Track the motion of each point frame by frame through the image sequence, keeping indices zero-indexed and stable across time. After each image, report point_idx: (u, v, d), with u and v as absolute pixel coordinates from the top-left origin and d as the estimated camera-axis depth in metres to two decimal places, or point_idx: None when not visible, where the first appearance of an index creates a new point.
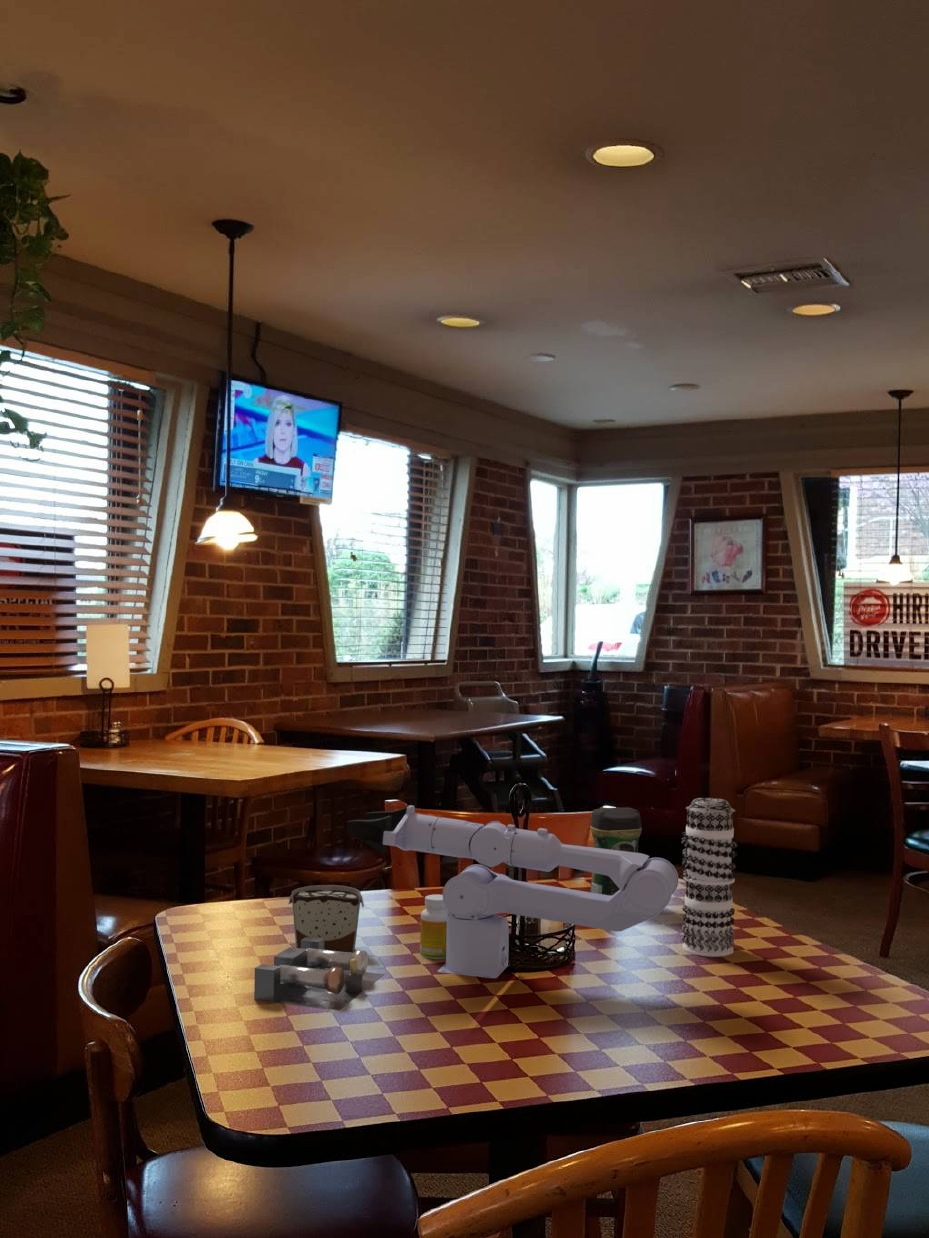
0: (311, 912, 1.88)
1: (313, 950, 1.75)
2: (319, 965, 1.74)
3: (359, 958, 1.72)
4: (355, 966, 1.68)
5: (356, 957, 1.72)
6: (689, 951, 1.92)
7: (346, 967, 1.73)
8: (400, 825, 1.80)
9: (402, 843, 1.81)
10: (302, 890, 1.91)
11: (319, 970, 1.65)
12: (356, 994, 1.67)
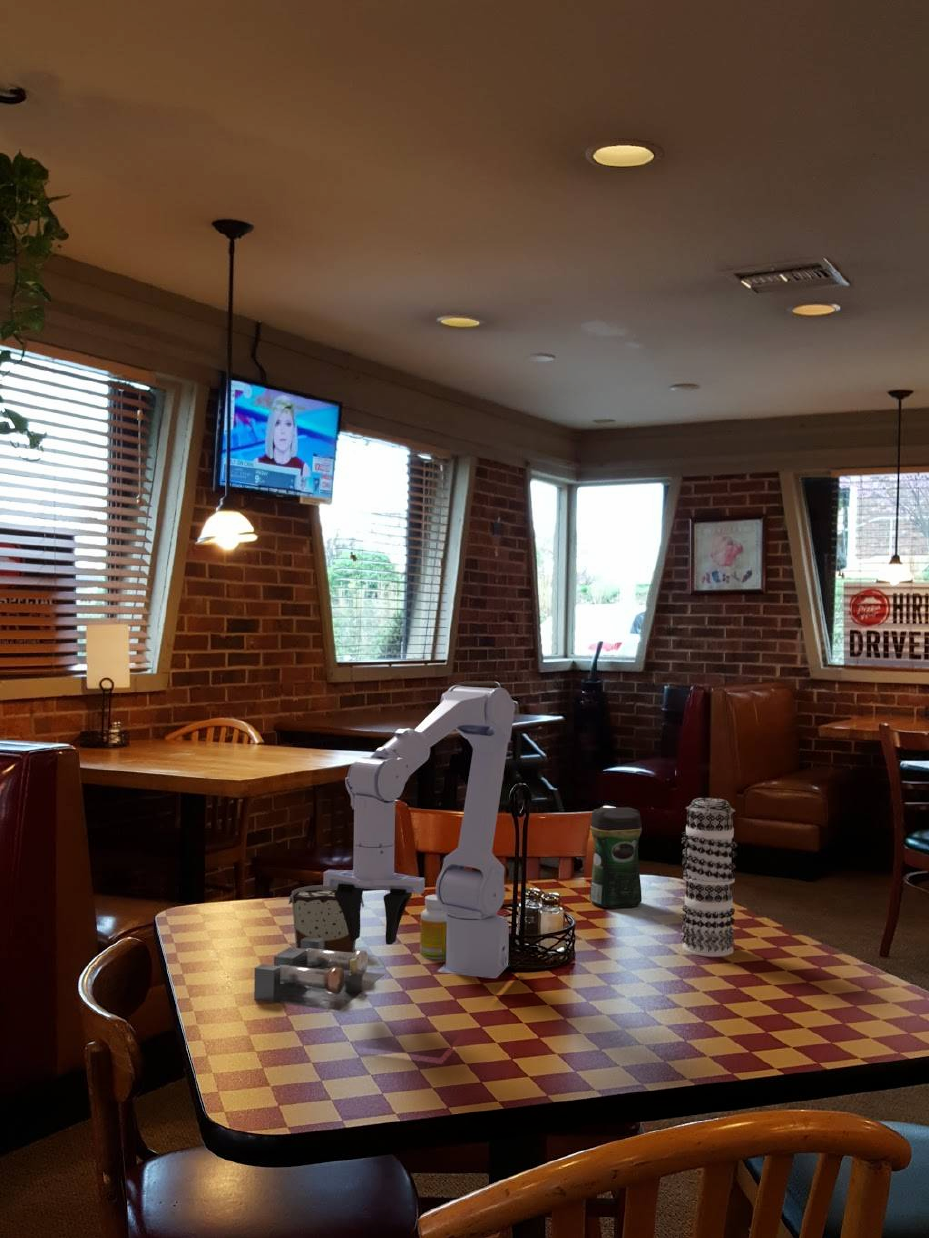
0: (311, 912, 1.88)
1: (313, 950, 1.75)
2: (319, 965, 1.74)
3: (359, 958, 1.72)
4: (355, 966, 1.68)
5: (356, 957, 1.72)
6: (689, 951, 1.92)
7: (346, 967, 1.73)
8: (397, 881, 1.60)
9: (395, 876, 1.64)
10: (302, 890, 1.91)
11: (319, 970, 1.65)
12: (356, 994, 1.67)
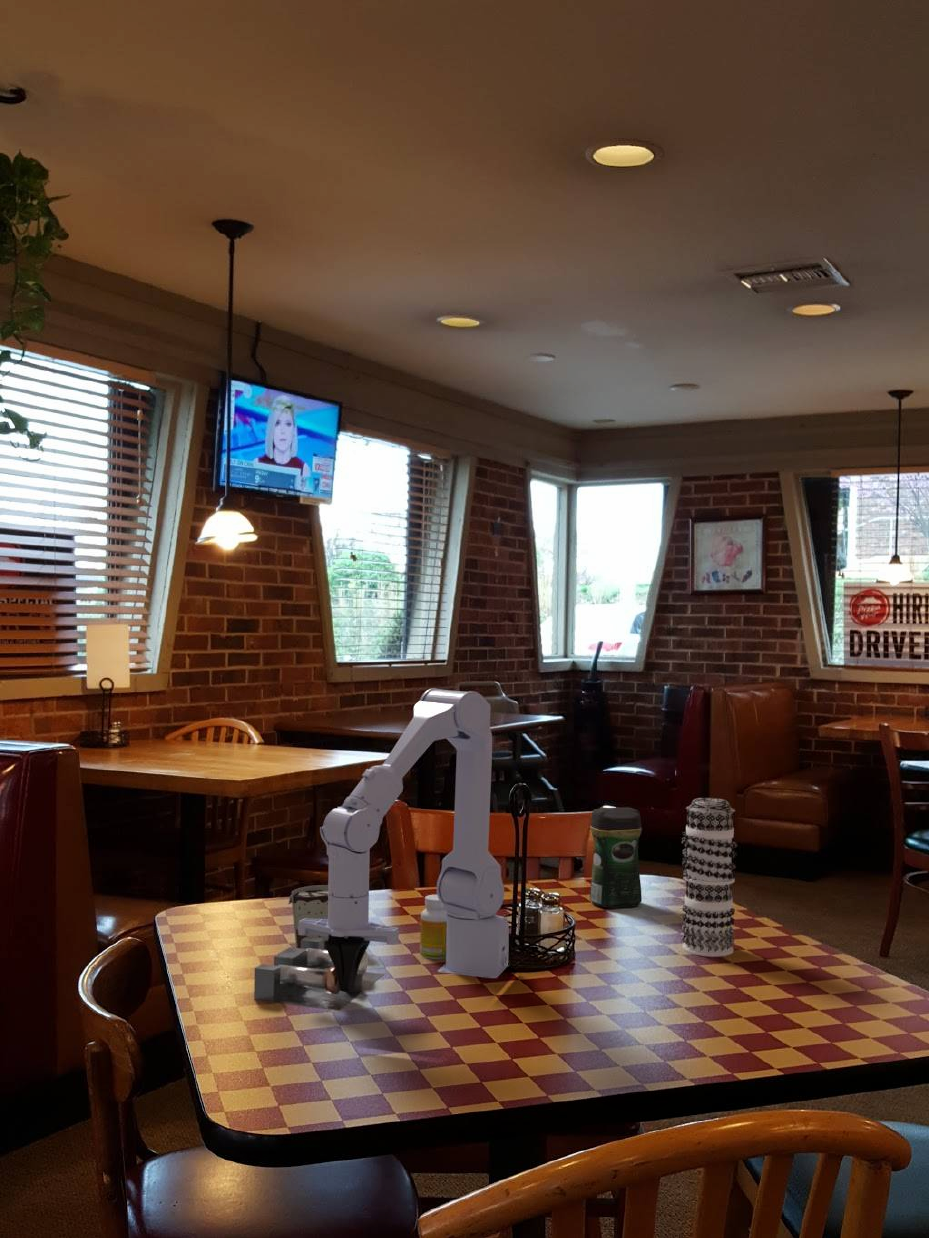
0: (311, 912, 1.88)
1: (313, 950, 1.75)
2: (319, 965, 1.74)
3: None
4: None
5: None
6: (689, 951, 1.92)
7: None
8: (371, 932, 1.61)
9: (370, 925, 1.65)
10: (302, 890, 1.91)
11: (318, 970, 1.65)
12: (356, 994, 1.67)
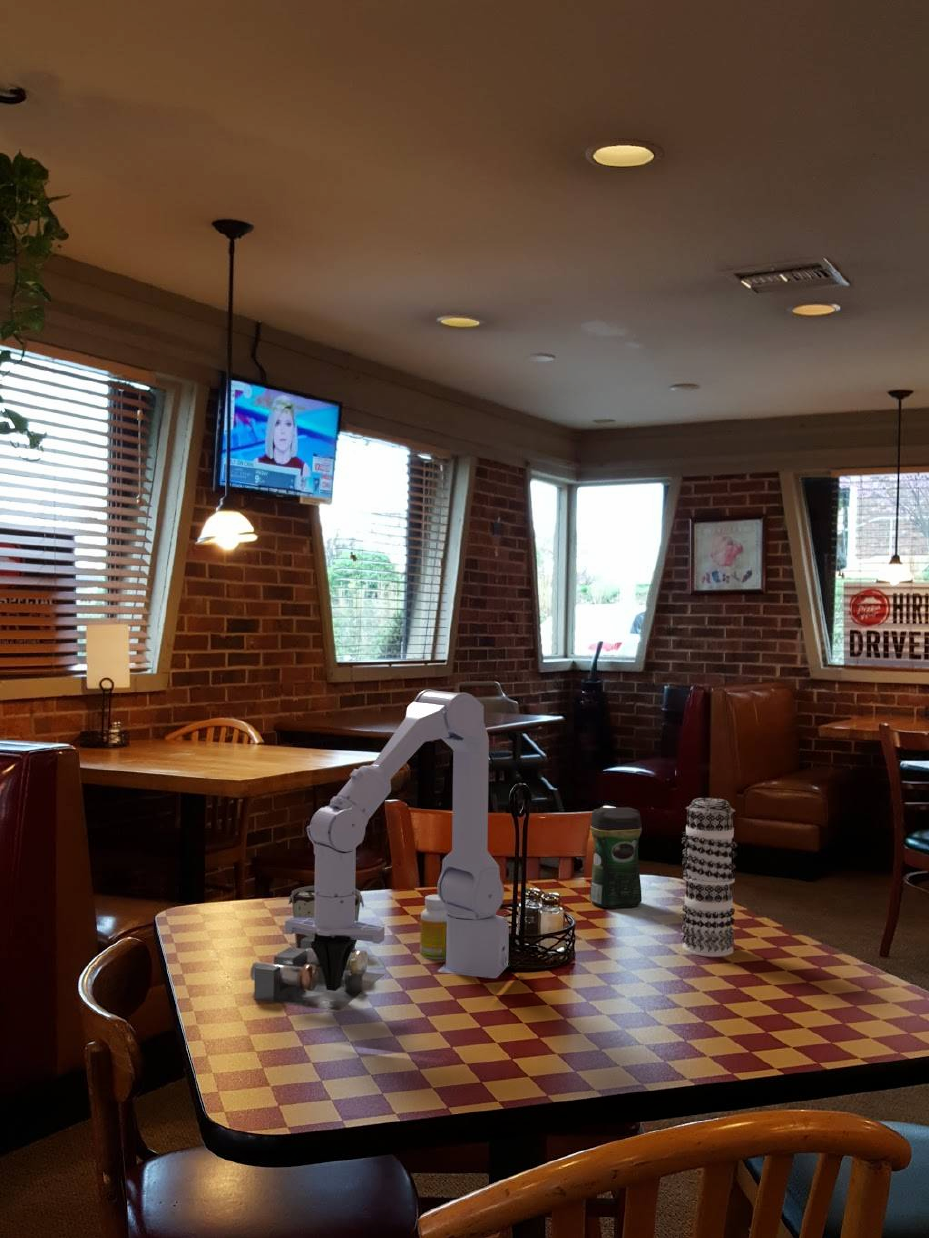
0: (311, 912, 1.88)
1: None
2: (319, 965, 1.74)
3: (359, 958, 1.72)
4: (355, 966, 1.68)
5: (356, 957, 1.72)
6: (689, 951, 1.92)
7: (346, 967, 1.73)
8: (357, 931, 1.62)
9: (356, 924, 1.65)
10: (302, 890, 1.91)
11: (293, 967, 1.66)
12: (356, 994, 1.67)
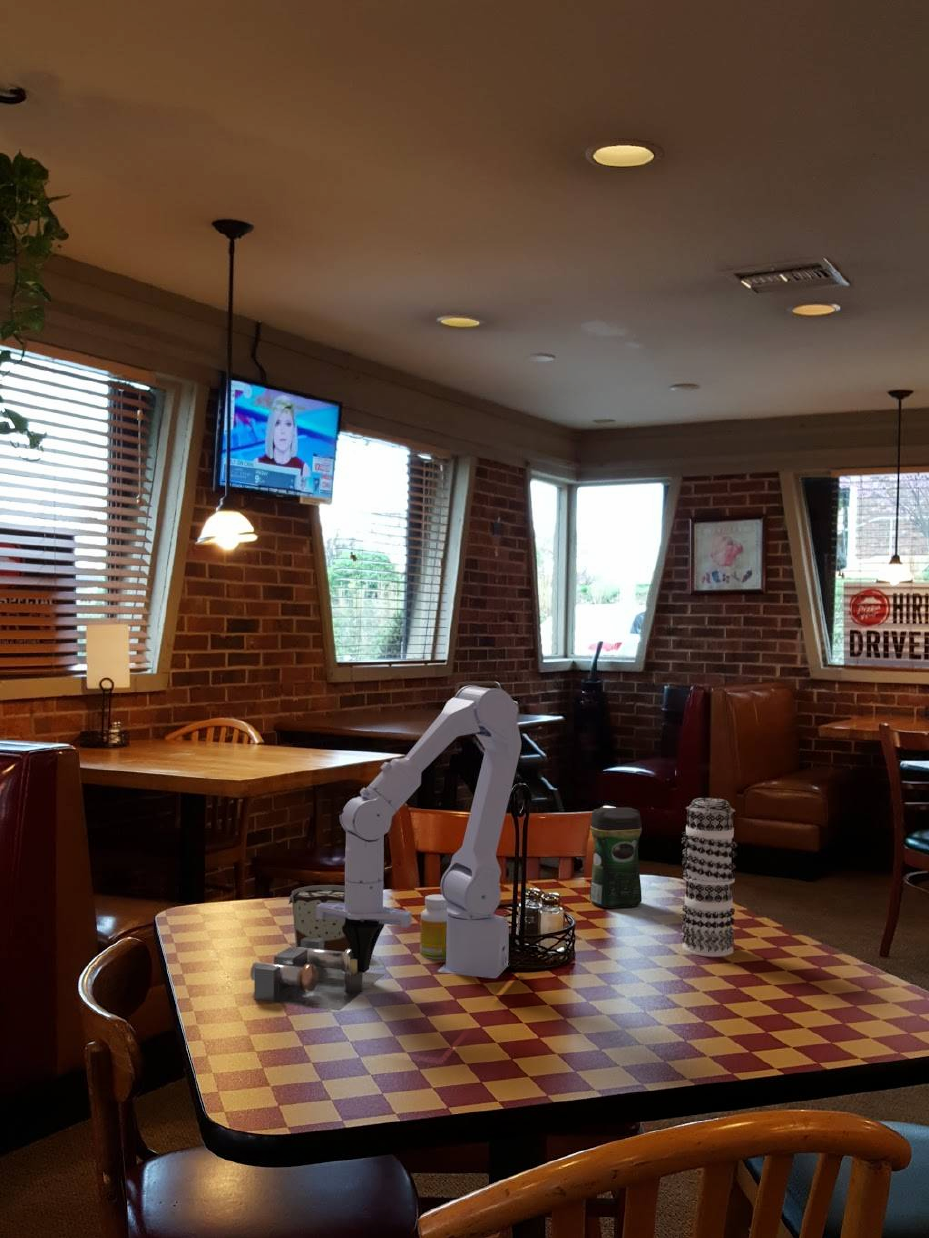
0: (311, 912, 1.88)
1: None
2: None
3: (349, 956, 1.72)
4: (355, 966, 1.68)
5: (346, 956, 1.72)
6: (689, 951, 1.92)
7: (336, 966, 1.73)
8: (386, 915, 1.70)
9: (384, 909, 1.74)
10: (302, 890, 1.91)
11: (293, 967, 1.66)
12: (356, 994, 1.67)
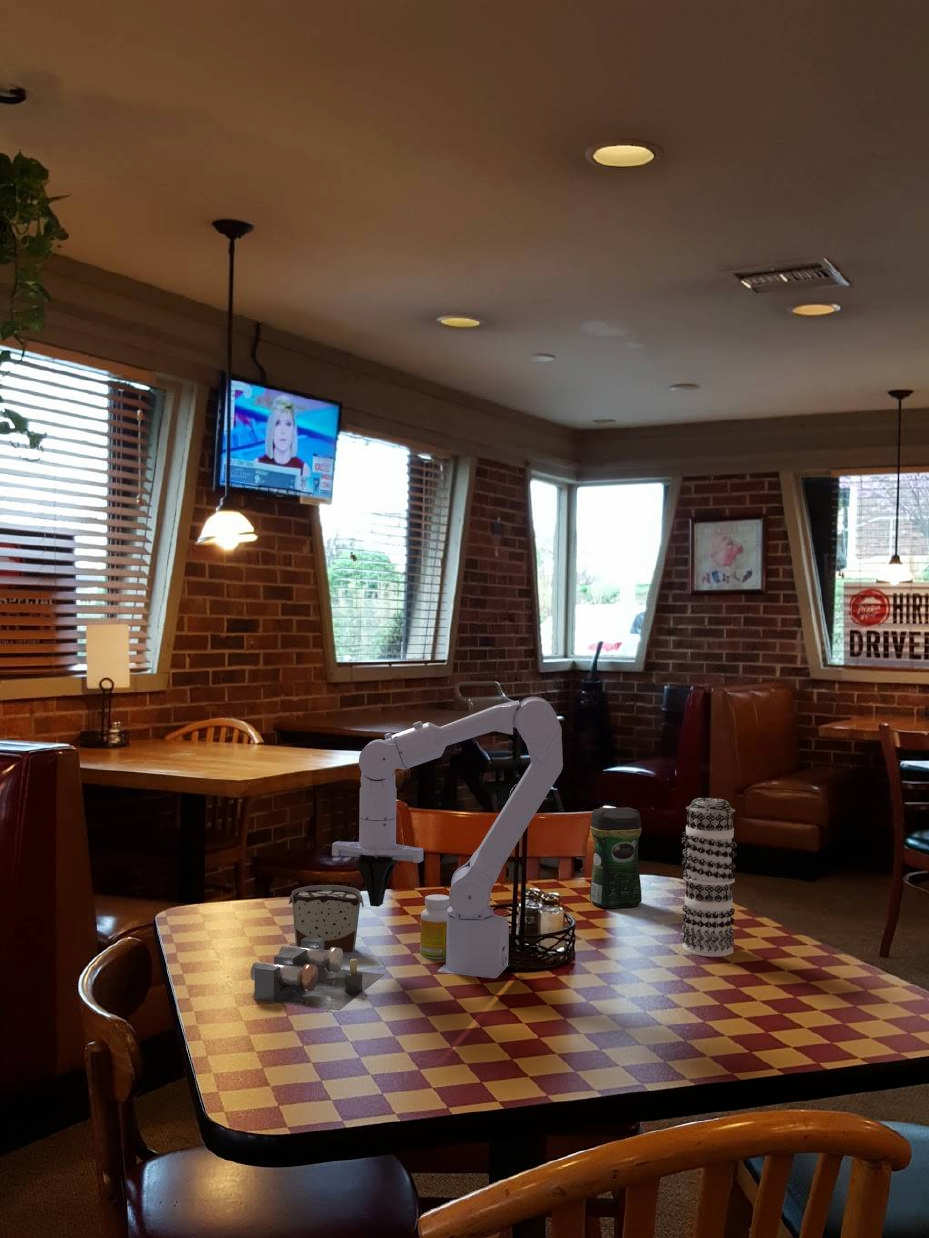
0: (311, 912, 1.88)
1: None
2: None
3: (334, 955, 1.73)
4: (355, 966, 1.68)
5: (331, 954, 1.73)
6: (689, 951, 1.92)
7: (321, 964, 1.74)
8: (399, 851, 1.78)
9: (397, 847, 1.82)
10: (302, 890, 1.91)
11: (293, 967, 1.66)
12: (356, 994, 1.67)
